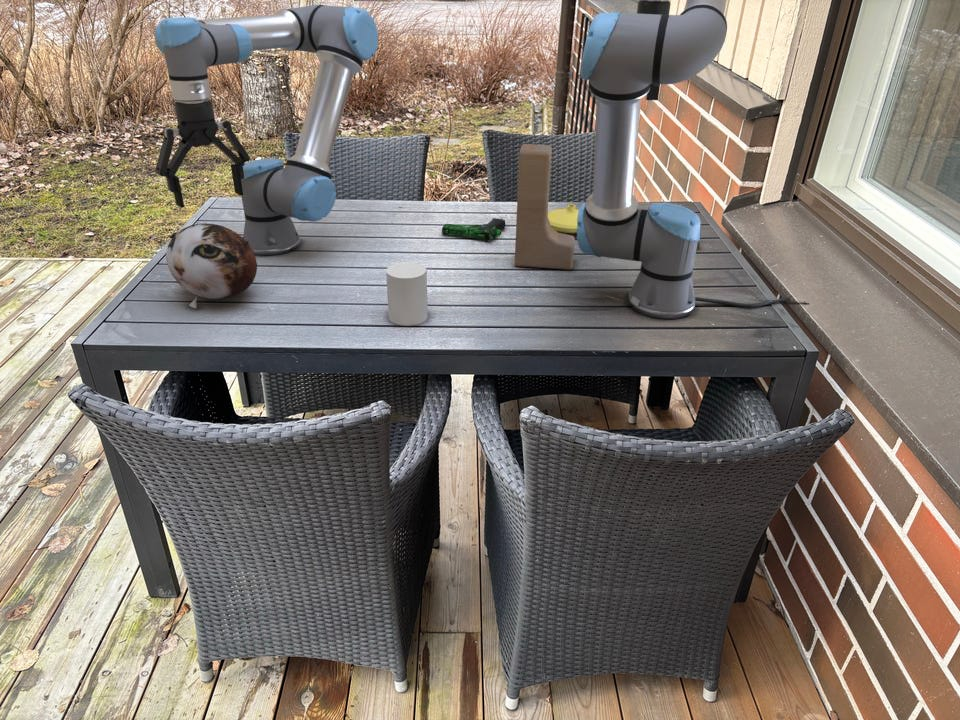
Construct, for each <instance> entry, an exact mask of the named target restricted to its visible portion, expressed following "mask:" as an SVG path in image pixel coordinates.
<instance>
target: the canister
mask: <svg viewBox="0 0 960 720" xmlns="http://www.w3.org/2000/svg"><path fill="white" fill-rule="evenodd" d="M427 270H428V269H427V267H426V266H425V265H424V264H421V263H419V262H415V261H402V262H396V263H393V264H390V265H389V266H387V268H386V269H385V276H386V277H385V279H386V293H387V309H388V312H387V313H388V319H389V321H390V322H391V323H392V324H395V325H396V326H397V325H398V326H402V327H403V326H404V327H410V326H411V327H412V326H416V325H420V324H422V323H424V322H426V321H427V320H428V318H429V307H428V271H427Z"/></svg>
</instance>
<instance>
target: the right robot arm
mask: <svg viewBox="0 0 960 720" xmlns="http://www.w3.org/2000/svg"><path fill="white" fill-rule="evenodd" d="M727 2H728V0H686V1H685V5H684V8H683V9H684V10H683V11H681V12H680V14H670V11H671V1H670V0H638V2H637V9H636V13H635V12H634V13H633V12H621V11H616V12H600V13H598V14H596V15H594V17H593V19H592V20H591V22H590V26H589V28H588V31H587V35H586V38H585V42H584V46H583V47H584V48H583V52H582V53H583V54H582V57H581V62H580V63H581V64H580V79H582V80H585V81H589V83H588V85H589V92H590V94H591V95H592V96H593V97H595V98H596V106H595V107H596V108H595V109H596V110H595V132H594V154H593V155H594V156H593V157H594V159H593V177H592V180H593V181H592V194H590V195H589V196H588V197H587V198H586V200H585V202H583V203H582V204H581V205H580V206H579V208H578V209H579V212H578V218H577V233H576V239H577V244H578V248H579V249H580V251H581V252H582V253H584V254H585V255H589V256H594V257H596V258H597V257H598V258H601V257H602V258H603V257H604V258H608V259H609V258H611V259H618V260H625V261H634V262H639V263H641V264H640V269H639V273H638V275H637V276H636V279H635V281H634V282H633V285H632V287H631V288H630V291H629V293H628V299H627V303H628V305H629V307H630V308H631V309H633V310H634V311H635V312H637V313H639V314H641V315H643V316H647V317H650V318H655V319H660V320H661V319H662V320H675V319H681V318H686V317H688V316H690V315H691V314H692V313H693V312H694V311H695V307H696V302H701V303H711V304H718V305H726V306H732V307H738V308H760V307H764V306H767V305H769V304H774V303H775V304H776V303H782V302H788V301H789V302H790V301H791V300H790V298H789V297H790V296H785V297H780V298H779V297H778V298H777V299H778V300H772V301H770V300H771V299H768V300H765V301H761V302H755V303H745V302H744V303H743V302H736V301H731V300H730V301H729V300H722V299H715V298H707V297H699V296H698V297H697V296H695V295H696V294H695V290H694V283H693V272H694V267H695V266H694V265H695V260H696V254H697V250H698V249H697V243H699V240H700V238H701V234H700V233H701V225H702V223H701V218H700V217H699V214H697V213H696V212H695V211H693V210H691V209H690V208H687V207H686V206H683V205H680V204H676V203H671V202H665V201H663V202H658V201H657V202H653V203H651V204H650V205H649V207H648V208H647V209H643V208H639V201H638V199H637V197H636V196H635V195H634V194H633V193H634V181H635V172H636V170H635V169H636V159H637V149H638V139H639V138H638V137H639V127H640V117H641V105H642V98H644V97H645V101H659V95H660V94H659V93H660V86H661V85H665V86H666V85H675V84H679V83H682V82H685V81H688V80H689V79H691V78H692V77H694V76H696V75H698V74H699V73H700V72H702V71H704V70H705V69H706V68H707V67H708V66H709V65H710V64H711V63H712V62H713V61H715V59H716V57H717V56H718V55H719V53H720V52H721V50H722V48H723V46H724V43H725V42H726V38H727V32H728V22H727V18H726V16H725V12H726V7H727Z"/></svg>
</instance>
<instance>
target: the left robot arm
mask: <svg viewBox="0 0 960 720" xmlns="http://www.w3.org/2000/svg"><path fill="white" fill-rule="evenodd" d="M378 31H379V30H378V28H377V24H376V22H375V19H374V18H373V16H372V15H371V13H369V12H368V11H367V10H366V9H364V8H360V7H355V6H350V5H349V6H339V5H338V6H337V5H328V4H327V5H325V4H312V5H311V4H310V5H306V6H305V5H304V6H300V7H292V8H284V9H283V8H282V9H279V10H277V11H275V14H265V15H264V14H263V15H262V14H261V15H250V16H238V17H237V16H235V17H234V16H233V17H222V18H219V17H218V18H207V19H206V18H203V19H197V18H195V17H190V16H189V17H188V16H187V17H182V16H181V17H179V16H178V17H166V18H165V17H164V18H163V19H161V20H160V22H159V23H158V24H157V26H156V27H155V29H154V42H155V45H156V47H157V49H158V50H159V51H160V52H161V53H162V54H163V55H164V59H165V64H166V69H167V73H168V79H169V84H170V85H169V86H170V90H171V96H172V97H171V98H172V99H173V100H175V102H174V103H173V106H174V110H175V116H176V117H175V118H176V121H177V127H167V126H164V127H163V129H162V133H163V135H162V136H163V140H162V144H161V148H160V151H159V155H158V158H157V162H156V164H155V165H156V166H155V169H154V173H155V174H157V175H158V176H160V177H165V179H166V184H167V189H168V190H169V192H171V193H173V197H174V200H175V205H176V206H178V207H179V208H185V202H184V197H183V192H182V187H181V183H180V178H179V176H178V175H176V174H177V173H178V170H179V169H180V167H181V165H182V163H183V162H184V160H185V158H186V156H187V155H188V153H189V152H190V151H191V149H192V148H193V147H194V148H200V147H202V146H203V147H204V146H205V147H207V146H211V144H212V145H214V146H215V147H216V148H217V149H218V150H219V151H220V152H222V154H224V155H225V157H227V158H228V159H229V160H230V161H232V162H233V163H231V164H229V165H230V170H231V176H232V177H231V178H232V182H233V190H234V193H235V194H237V195H238V196H240V197H241V202H242V203H241V204H242V208H243V209H242V210H243V212H244V213H243V215H244V219H245V220H244V226H243V228H244V229H243V235H242V237H243V238H244V239H245V240H246V241H249V242H248V244H249V245H250V247H251V248H252V250H253V252H254V254H255V256H256V255H257V256H275V255H281V254H282V255H283V254H285V253H289V252H291V251H293V250H296V249H297V248H298V247H299V246H300V244H301V241H300V235H299V233H298V231H297V229H296V227H295V225H294V223H293V220H292V218H294V219H297V220H299V221H305V222H306V221H307V222H318V221H321V220H323V218H326V217H327V216H328V215H329V214H330V212H331V211H332V210H333V207H334V205H335V202H336V198H337V193H336V185H335V184H334V182H333V181H332V176H333V173H332V171H331V169H330V167H329V164H330V161H331V158H332V154H333V149H334V147H335V143H336V139H337V135H338V132H339V128H340V124H341V121H342V117H343V114H344V109H345V106H346V103H347V100H348V96H349V92H350V88H351V86H352V85H351V84H352V81H353V78H354V76H355V75H356V74H358V73H360V72H361V71H362V68H363V64H364V62H365V61H369V60H371V59H372V58H373V57H374V56H375V55H376V53H377V51H378V47H379V32H378ZM273 49H282V50H283V51H286V52H297V51H298V52H305V53H306V52H307V53H313V54H315V56H316V58H317V59H318V61H319V65H318V69H317V73H316V76H315V79H314V84H313V87H312V90H311V94H310V99H309V102H308V106H307V109H306V112H305V116H304V120H303V124H302V127H301V131H300V135H299V139H298V142H297V145H296V150H295V153H294V155H293V156H291V157H288V158H287V159H286V163H285V164H284V163H283V160H282V159H280V158H277V157H276V158H275V157H273V158H272V157H271V158H260V159H255V160H251V157H250V155H249V154H248V152H247V151H246V149H245V147H244V146H243V145H242V143H241V141H240V140H239V139H238V137H237V136H236V134H235V133H234V130H233V128H232V124H231V122H230V121H229V120H227V119H224V118H221V119H220V121H216V118H215V110H214V104H213V101H212V100H211V98H212V93H211V87H210V81H209V73H208V68H210V67H215V66H221V65H222V66H223V65H230V64H231V65H232V64H238V63H242V62H245V61H247V60H249V59H250V57H251V55H252V52H254V51H255V52H256V51H263V50H264V51H266V50H273ZM219 130H220V131H221V132H223V134H224V135H225V137H226V138H227V140H228V142H229V143H230V145H231V146H232V147H233V149H234V150H235V152H236V153H235V152H233V150H231V149H230V148H229V147H228V146H227V145H226V144H225V143H223V141H222V140H221V139H220V138H218V137H217V133H218V131H219ZM178 135H179V136H180V137H181V139H180V141H179V142H178V146H177V149H176V150H175V151H174V153H173V155H172V151H173V148H174V144H175V139H177V136H178ZM237 154H238V155H237ZM171 155H172V157H171ZM170 158H171V159H170ZM178 232H179V231H176V232H174V233H172V234H171V235H170V236H169V239H172V238H173V237H174V235H176V234H177V233H178Z"/></svg>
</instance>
